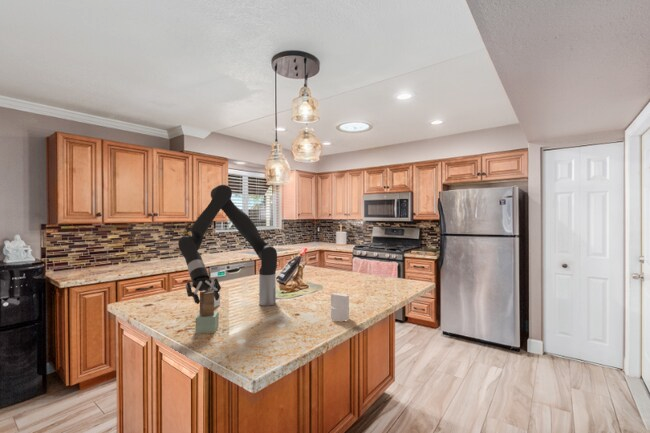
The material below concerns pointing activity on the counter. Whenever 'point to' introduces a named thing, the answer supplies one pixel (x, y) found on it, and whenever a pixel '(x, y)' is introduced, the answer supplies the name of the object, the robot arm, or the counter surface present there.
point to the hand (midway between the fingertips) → (208, 301)
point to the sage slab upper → (207, 319)
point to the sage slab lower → (206, 328)
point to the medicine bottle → (216, 302)
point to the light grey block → (339, 307)
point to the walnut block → (206, 303)
